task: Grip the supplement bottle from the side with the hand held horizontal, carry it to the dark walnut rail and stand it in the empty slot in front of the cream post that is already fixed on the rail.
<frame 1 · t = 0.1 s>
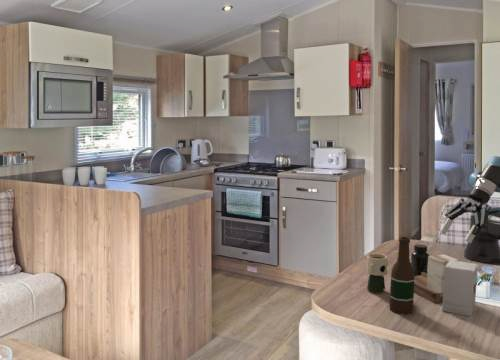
hand: (454, 237, 193), 15 cm above the table, tool tilted 35°, fingers open, 13 cm apart
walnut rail: (428, 290, 177), on the table
supplement box: (458, 310, 160), on the table
character mug: (375, 291, 176), on the table
beer bottle: (401, 310, 160), on the table
supplement bottle: (419, 275, 193), on the table
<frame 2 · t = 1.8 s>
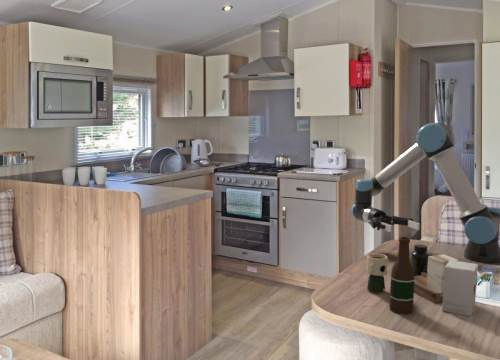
hand: (405, 228, 200), 17 cm above the table, tool horizontal, fingers open, 13 cm apart
nothing on the table moved.
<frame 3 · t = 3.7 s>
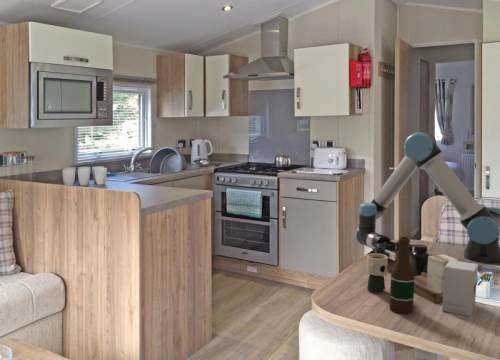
hand: (409, 255, 198), 6 cm above the table, tool horizontal, fingers open, 13 cm apart
nothing on the table moved.
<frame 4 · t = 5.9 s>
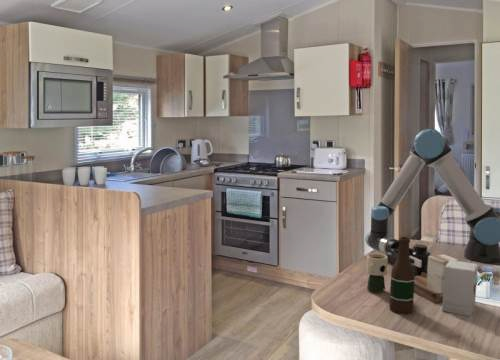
hand: (428, 263, 188), 7 cm above the table, tool horizontal, fingers closed on supplement bottle, 7 cm apart
supplement bottle: (419, 275, 193), on the table, touching gripper
everything else where it was.
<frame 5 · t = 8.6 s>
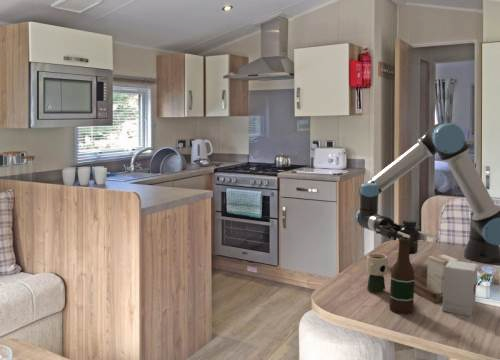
hand: (417, 238, 180), 18 cm above the table, tool horizontal, fingers closed on supplement bottle, 7 cm apart
supplement bottle: (407, 252, 185), point 11 cm above the table, touching gripper
everything else where it was.
when the fingers open (10 cm above the table, at t = 11.5 s): supplement bottle drops 1 cm, resting on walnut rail.
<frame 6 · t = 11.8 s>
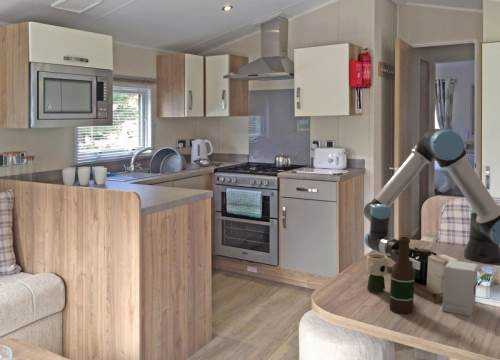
hand: (431, 264, 175), 10 cm above the table, tool horizontal, fingers open, 10 cm apart
supplement bottle: (421, 282, 180), point 2 cm above the table, touching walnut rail
everything else where it was.
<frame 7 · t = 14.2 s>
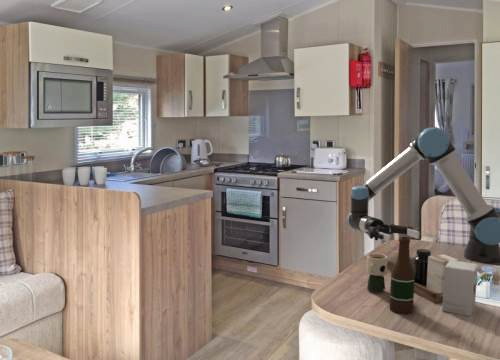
hand: (404, 237, 190), 16 cm above the table, tool horizontal, fingers open, 13 cm apart
nothing on the table moved.
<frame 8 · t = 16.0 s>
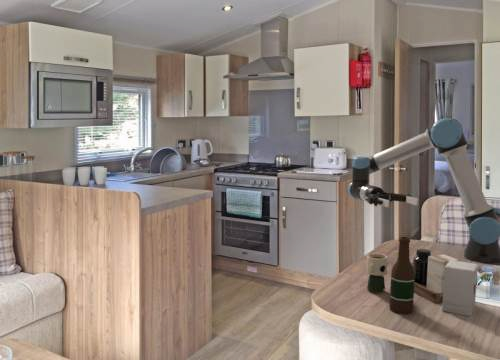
hand: (403, 203, 194), 28 cm above the table, tool horizontal, fingers open, 13 cm apart
nothing on the table moved.
at the end: supplement bottle inside the target area (0.1 cm from its centre), point 1.8 cm above the table; supplement bottle tilted 0°; the gripper is holding nothing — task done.
